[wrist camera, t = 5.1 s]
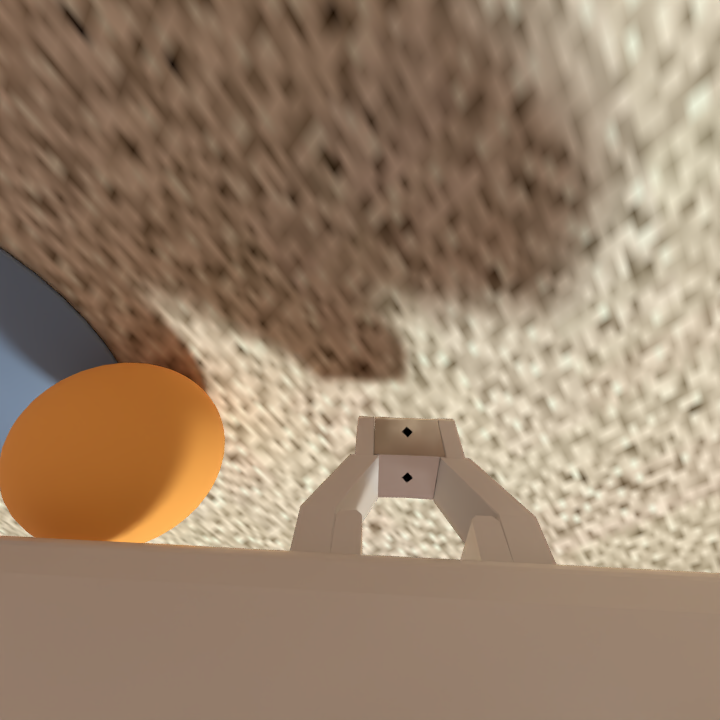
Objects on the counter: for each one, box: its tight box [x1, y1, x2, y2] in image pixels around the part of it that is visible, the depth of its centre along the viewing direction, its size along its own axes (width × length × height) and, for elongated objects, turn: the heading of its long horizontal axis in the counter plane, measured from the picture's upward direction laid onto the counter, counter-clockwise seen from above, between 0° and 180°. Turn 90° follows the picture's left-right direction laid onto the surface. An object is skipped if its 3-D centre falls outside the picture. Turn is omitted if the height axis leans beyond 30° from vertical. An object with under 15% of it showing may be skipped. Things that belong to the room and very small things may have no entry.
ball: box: [0, 363, 225, 543], centre depth 10 cm, size 6×6×6 cm
